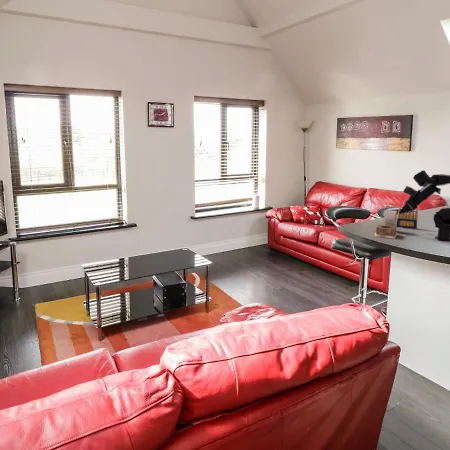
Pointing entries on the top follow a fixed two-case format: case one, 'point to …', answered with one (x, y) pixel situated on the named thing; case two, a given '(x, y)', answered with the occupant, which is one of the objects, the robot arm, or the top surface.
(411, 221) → the ammunition clip
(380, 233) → the socket block
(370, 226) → the top surface
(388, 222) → the metal bar
